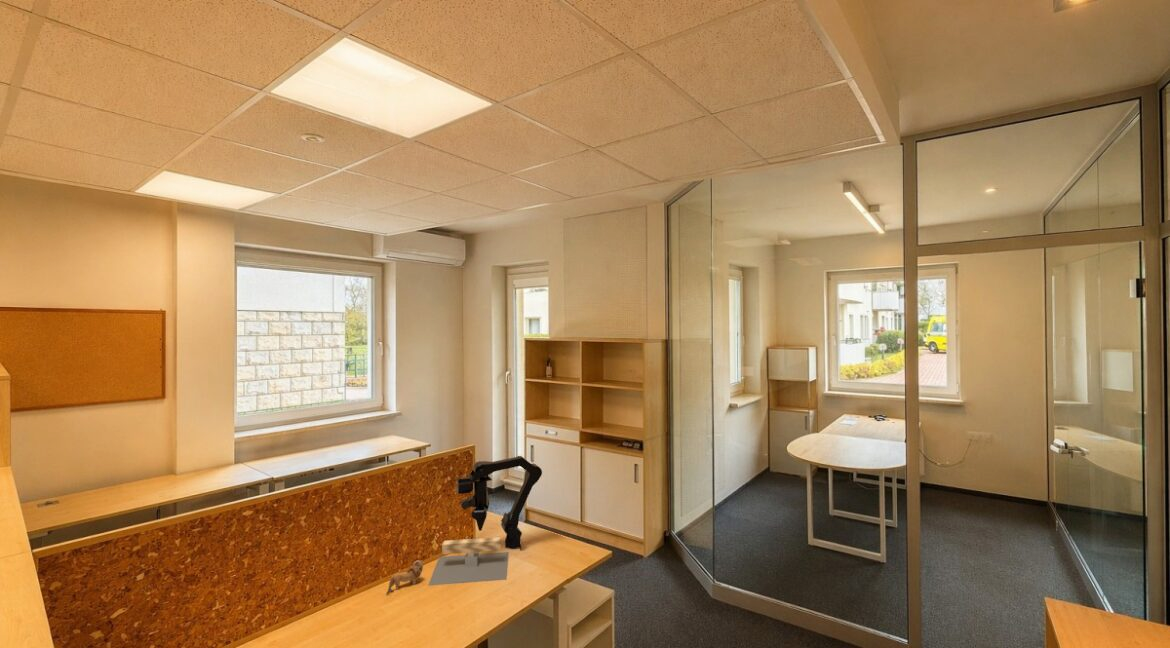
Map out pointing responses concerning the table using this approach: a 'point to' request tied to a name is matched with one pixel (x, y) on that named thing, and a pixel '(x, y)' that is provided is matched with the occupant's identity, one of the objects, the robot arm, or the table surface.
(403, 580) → the lion figurine
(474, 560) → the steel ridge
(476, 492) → the robot arm
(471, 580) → the base board
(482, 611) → the table surface
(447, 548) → the beech batten
